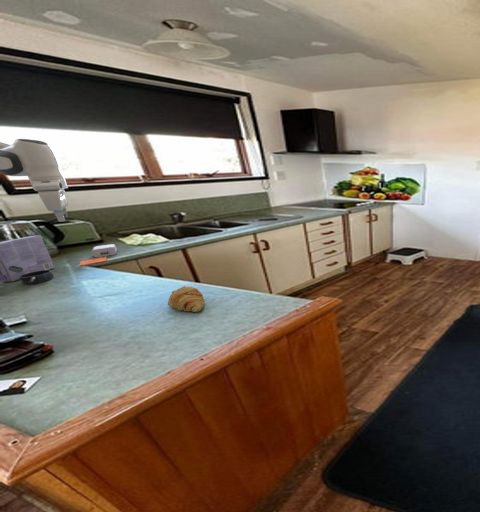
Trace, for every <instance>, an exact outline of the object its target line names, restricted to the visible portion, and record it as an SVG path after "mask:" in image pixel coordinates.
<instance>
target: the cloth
mask: <svg viewBox="0 0 480 512" xmlns="http://www.w3.org/2000/svg"><path fill="white" fill-rule="evenodd" d="M107 257H108V256H104V257H95V258H90V259H84V260H80V262H79V266H78V267H82V266H81V265H84V266H88V265H87V264H89V265H94V264H100V263H105V262H107Z"/></svg>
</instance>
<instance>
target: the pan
mask: <svg viewBox="0 0 480 512" xmlns="http://www.w3.org/2000/svg"><path fill="white" fill-rule="evenodd" d="M32 277H36V279H35V280H34V282H33V283H29V281H30V279H31V278H32ZM54 278H55V276H54V273H53V272H52V269H50V270H42V271H36V272H31V273H27V274H24V275H22V276H20V279H19V280H20V281H21V284H23V285H26V284H27V285H36V283H37V284H41V283H44V282H48V281H50V280H53V279H54Z"/></svg>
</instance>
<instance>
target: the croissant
mask: <svg viewBox="0 0 480 512" xmlns="http://www.w3.org/2000/svg"><path fill="white" fill-rule="evenodd" d="M167 306H169V308H171V309H173V310H176V311H181V310H182V311H183V310H184V311H183V312H192V313H198V312H200V311H201V310H203V308H204V306H205V299H204V296H203V294H202V292H201V291H200V290H199V289H198V288H196V287H194V286H182V287H180V288H178V289H176V290H172V292H171V294H170V296H169V297H168V301H167Z"/></svg>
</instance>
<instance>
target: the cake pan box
mask: <svg viewBox="0 0 480 512" xmlns="http://www.w3.org/2000/svg"><path fill="white" fill-rule="evenodd" d="M53 269H56V266H55V264H54V262H53V259H52V257H51V255H50V253H49V251H48V248H47V247H46V244H45V242H44V240H43V237H42V235H41V234H38V235H30V236H25V237H19V238H15V239H9V240H4V241H0V280H1V282H2V283H6V282H7V283H8V282H10V283H13V282H16V281H19V280H21V279H20V276H22V275H24V274H27V273H31V272H36V271H42V270H53Z"/></svg>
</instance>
